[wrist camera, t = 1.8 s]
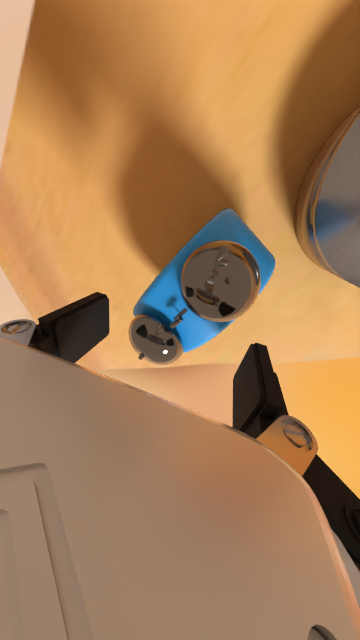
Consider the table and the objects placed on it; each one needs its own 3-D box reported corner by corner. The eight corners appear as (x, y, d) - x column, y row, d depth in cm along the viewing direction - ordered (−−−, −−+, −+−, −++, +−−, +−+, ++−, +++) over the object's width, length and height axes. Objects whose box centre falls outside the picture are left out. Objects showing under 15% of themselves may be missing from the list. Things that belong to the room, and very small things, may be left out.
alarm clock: (231, 210, 19) (220, 185, 7) (266, 250, 20) (316, 296, 8) (162, 287, 26) (94, 346, 14) (191, 315, 27) (152, 394, 14)
